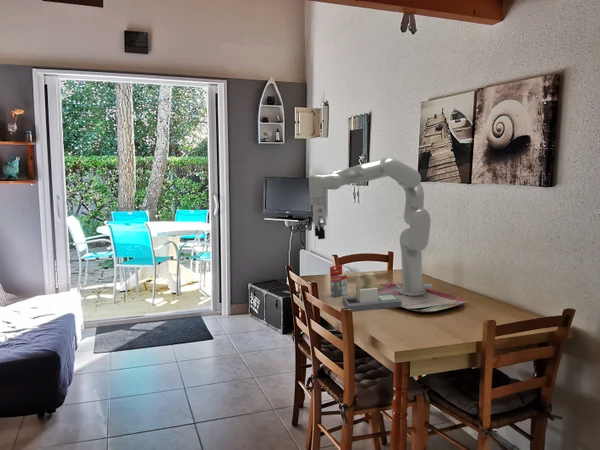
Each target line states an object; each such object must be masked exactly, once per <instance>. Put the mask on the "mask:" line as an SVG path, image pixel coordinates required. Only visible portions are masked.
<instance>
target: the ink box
mask: <svg viewBox="0 0 600 450" xmlns="http://www.w3.org/2000/svg"><path fill="white" fill-rule="evenodd" d="M329 274H330V275H329V276H330V277H329V278H330V279H329V280H330V295H331V296H332V297H333V298H337V297H342V296H344V295H348V293H349V292H348V275H347V274H344V273H343V264H337V265H333V266H330V267H329Z"/></svg>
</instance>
